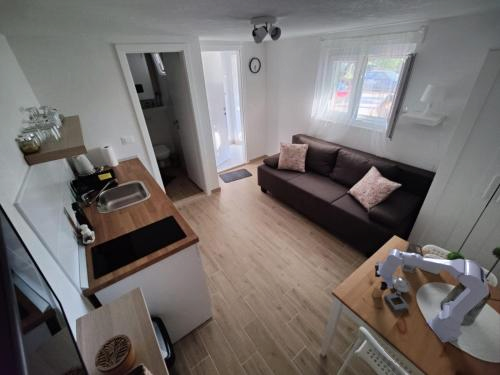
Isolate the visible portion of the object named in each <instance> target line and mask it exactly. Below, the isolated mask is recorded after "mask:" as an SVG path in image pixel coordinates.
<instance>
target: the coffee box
mask: <svg viewBox="0 0 500 375" xmlns="http://www.w3.org/2000/svg"><path fill="white" fill-rule="evenodd" d="M422 249H423V248H422V245H419V244H415V243H412V242H408V243H407V245H406V247H405V249H404V251H403V252H407V253H416V254H420V255H421V256H422V257H424V253H423V250H422ZM400 266H401V270H402V271H403V272H406V273H410V274H414V273H415V271H416V270H417V268H418V267H415V266H409V265H400Z"/></svg>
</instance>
